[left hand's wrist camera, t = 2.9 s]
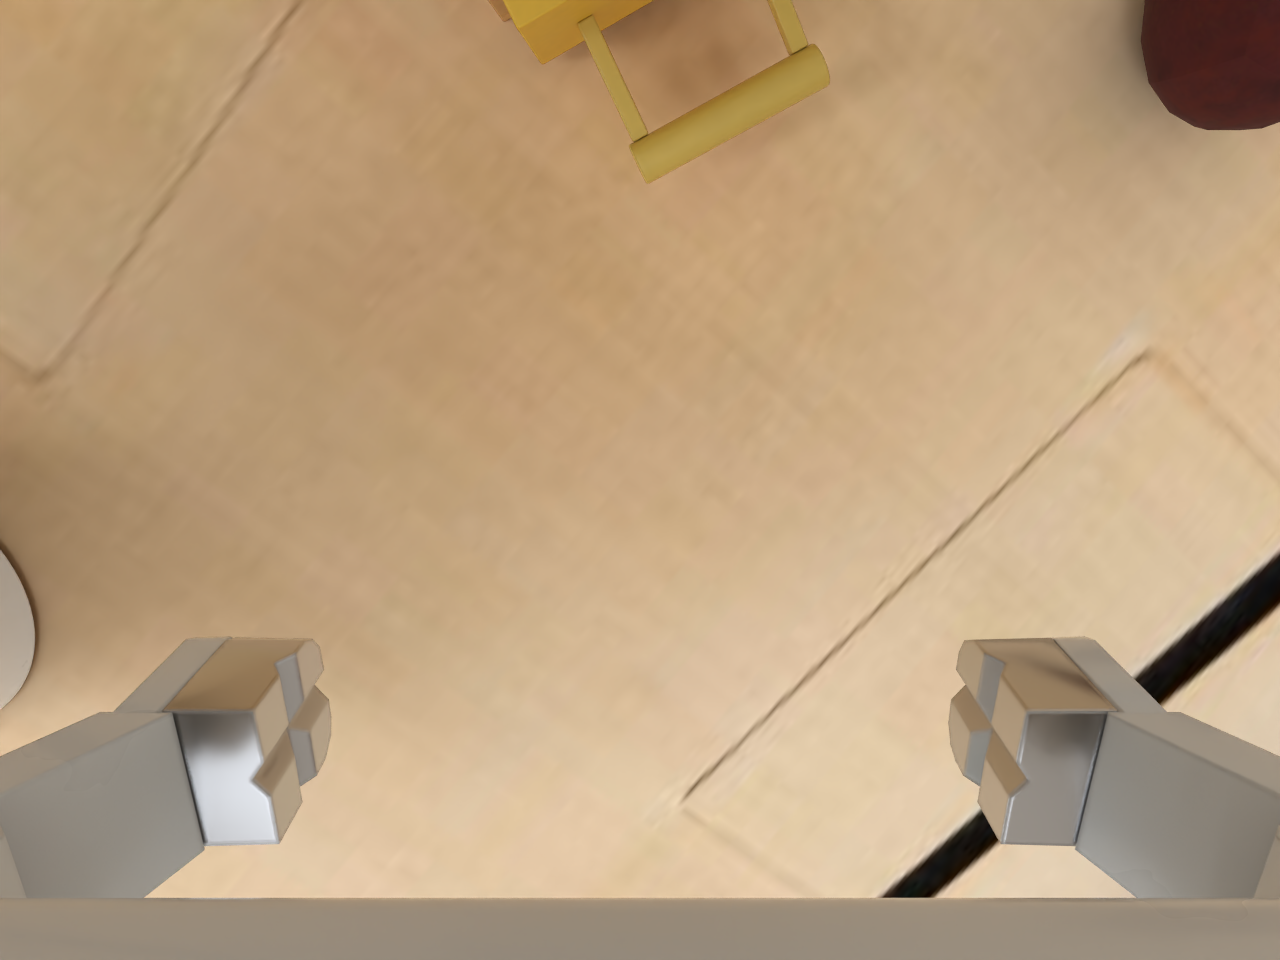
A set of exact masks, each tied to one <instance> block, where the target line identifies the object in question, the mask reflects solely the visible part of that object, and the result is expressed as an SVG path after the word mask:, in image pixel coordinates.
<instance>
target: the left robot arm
mask: <svg viewBox="0 0 1280 960" xmlns="http://www.w3.org/2000/svg"><path fill="white" fill-rule="evenodd" d="M34 649H35V628H34V620H33V615H32V611H31V607H30V604H29V600H28V598H27V595H26V592H25V590H24V588H23V585H22V583H21V581H20V579H19V577H18V576H17V574H16V572H15V570H14V569H13V567H12V565H11V564H10V562H9V561H8V559H7V558H6V556H5V555H4V554H3V552H2V551H1V550H0V709H2V708H3V707H4V706H5V705H7V704H8V703H9V702H10V701H11V700H12V699H13V697H14V696H15V695H16V694H17V693H18V691H19V690H20V688H21V687H22V685H23V683H24V682H25V680H26V678H27V676H28V673H29V671H30V668H31V665H32V660H33V656H34ZM323 670H324V667H323V662H322V657H321V652H320V647H319V646H318V644H317V643H316V642H315V641H314V640H313V639H291V638H240V637H236V638H232V637H196V638H191V639H186V640H185V641H184V642H183V643H182V644H181V645H180V646H179V647H178V648H177V649H176V650H175V651H174V652H173V653H172V654H171V655H170V656H169V657H168V658H167V659H166V660H165V661H164V662H163V663H162V664H161V665H160V666H159V667H158V668H157V669H156V670H155V671H154V672H153V673H152V674H151V675H150V676H149V677H148V678H147V679H146V680H145V681H144V682H143V683H142V684H141V685H140V686H139V687H138V688H137V689H136V690H135V691H134V692H133V693H132V694H131V695H130V696H129V697H128V698H127V699H126V700H125V701H124V702H123V703H122V704H121V705H120V706H119V707H118V708H117V709H116V710H115V711H114V712H99V713H97V714H95V715H92V716H90V717H88V718H86V719H83V720H81V721H79V722H77V723H74V724H72V725H70V726H68V727H65V728H63V729H61V730H59V731H56V732H54V733H52V734H50V735H47V736H45V737H43V738H41V739H38V740H36V741H34V742H32V743H29V744H27V745H25V746H23V747H20V748H18V749H16V750H14V751H11V752H9V753H7V754H5V755H2V756H0V960H1280V756H1277V755H1275V754H1273V753H1271V752H1268V751H1266V750H1264V749H1262V748H1259V747H1257V746H1255V745H1253V744H1250V743H1248V742H1246V741H1244V740H1241V739H1239V738H1237V737H1235V736H1232V735H1230V734H1228V733H1226V732H1223V731H1221V730H1219V729H1217V728H1215V727H1212V726H1210V725H1208V724H1206V723H1203V722H1201V721H1199V720H1197V719H1194V718H1192V717H1190V716H1188V715H1185V714H1183V713H1181V712H1166V711H1165V710H1164V709H1163V708H1162V707H1161V706H1160V705H1159V704H1158V703H1157V702H1156V701H1155V700H1154V699H1153V698H1152V697H1151V696H1150V695H1149V694H1148V693H1147V692H1146V691H1145V690H1144V689H1143V688H1142V687H1141V686H1140V685H1139V684H1138V683H1137V682H1136V681H1135V680H1134V679H1133V678H1132V677H1131V676H1130V675H1129V674H1128V673H1127V672H1126V671H1125V670H1124V669H1123V668H1122V667H1121V666H1120V665H1119V664H1118V663H1117V662H1116V661H1115V660H1114V659H1113V658H1112V657H1111V656H1110V655H1109V654H1108V653H1107V652H1106V651H1105V650H1104V649H1103V648H1102V647H1101V646H1100V645H1099V644H1098V643H1097V642H1096V641H1095V640H1093V639H1090V638H1087V637H1085V636H1084V637H1059V638H1026V639H986V640H964V642H963V644H962V647H961V649H960V651H959V655H958V661H957V667H956V670H957V672H958V673H959V675H960V676H961V678H962V680H963V681H964V683H965V684H966V685H965V686H964V687H963V688H962V689H961V690H960V691H959V692H958V693H957V694H956V695H955V696H954V697H953V698H952V699H951V706H950V714H949V722H948V723H949V734H950V744H951V748H952V751H953V754H954V757H955V761H956V763H957V764H958V766H959V768H960V770H961V772H962V774H963V776H965V777H966V778H968V779H969V780H971V781H972V782H974V783H975V784H977V785H978V786H980V791H979V796H978V804H979V805H980V807H981V809H982V811H983V813H984V814H985V816H986V818H987V820H988V822H989V823H990V825H991V827H992V829H993V831H994V832H995V834H996V836H997V838H998V840H999V841H1000V843H1001V844H1020V845H1056V846H1076V848H1075V850H1077V851H1078V852H1079V853H1080V854H1082V855H1083V856H1084V857H1085V858H1087V859H1088V860H1089V861H1091V862H1092V863H1093V864H1094V865H1096V866H1097V867H1098V868H1099V869H1101V870H1102V871H1103V872H1105V873H1106V874H1107V875H1108V876H1110V877H1111V878H1112V879H1113V880H1115V881H1116V882H1117V883H1119V884H1120V885H1121V886H1122V887H1124V888H1125V889H1126V890H1127V891H1129V892H1130V893H1131V894H1133V895H1134V896H1135V897H1136V898H144V897H145V896H146V895H148V894H149V893H150V892H152V891H153V890H154V889H155V888H157V887H158V886H159V885H160V884H162V883H163V882H164V881H166V880H167V879H168V878H169V877H171V876H172V875H173V874H174V873H176V872H177V871H178V870H180V869H181V868H182V867H183V866H185V865H186V864H187V863H188V862H190V861H191V860H192V859H194V858H195V857H196V856H197V855H199V854H200V853H201V852H203V851H204V849H205V848H204V846H224V845H259V844H279V843H280V842H281V840H282V838H283V836H284V834H285V833H286V831H287V829H288V827H289V825H290V824H291V822H292V820H293V818H294V816H295V814H296V813H297V811H298V809H299V807H300V805H301V804H302V796H301V790H300V786H302V785H303V784H305V783H306V782H308V781H309V780H311V779H312V778H314V777H315V776H317V774H318V772H319V770H320V768H321V766H322V764H323V762H324V760H325V758H326V754H327V750H328V746H329V742H330V737H331V712H330V705H329V699H328V698H327V697H326V696H325V695H324V694H323V693H322V692H321V691H320V690H319V689H318V688H317V687H316V686H315V685H314V684H315V683H316V681H317V680H318V678H319V677H320V675H321V673H322V672H323Z"/></svg>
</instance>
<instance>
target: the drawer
mask: <svg viewBox="0 0 1280 960" xmlns="http://www.w3.org/2000/svg"><path fill="white" fill-rule="evenodd" d="M652 1H653V0H503V2H504V4H505V6H506V8H507V10H508V12H509V14H510V16H511V18H512V20H513V22H514V24H515V26H516V28H517V29H518V31H519V32H520V34H521V35H522V36H523V38H524V39H525V41H526V42H527V44H528V45H529V47H530V48H531V50H532V51H533V52H534V54H535V55H536V57H537V58H538V60H539V61H540V63H541V64H545V63H547V62H548V61H550V60H552V59H554V58H555V57H557V56H559V55H560V54H562V53H564V52H566V51H567V50H569V49H571V48H572V47H574V46H576V45H578V44H579V43H581V42H583V41H585V42H586V45H587V47H588V49H589V51H590V53H591V55H592V57H593V59H594V61H595V63H596V66H597V68H598V70H599V72H600V74H601V76H602V78H603V80H604V82H605V84H606V87H607V89H608V91H609V93H610V95H611V97H612V99H613V101H614V103H615V106H616V108H617V110H618V112H619V114H620V116H621V118H622V120H623V122H624V124H625V127H626V129H627V131H628V133H629V135H630V137H631V139H632V141H633V142H634V143H632V144H630V145H629V148H630V151H631V153H632V155H633V157H634V159H635V161H636V164H637V166H638V168H639V170H640V172H641V174H642V176H643V178H644V180H645V182H646V183H647V184H649V183H651V182H653V181H654V180H656V179H658V178H660V177H662V176H664V175H665V174H667V173H669V172H671V171H673V170H675V169H676V168H678V167H680V166H682V165H684V164H686V163H687V162H689V161H691V160H693V159H695V158H697V157H698V156H700V155H702V154H704V153H706V152H708V151H709V150H711V149H713V148H715V147H717V146H719V145H720V144H722V143H724V142H726V141H728V140H730V139H731V138H733V137H735V136H737V135H739V134H741V133H742V132H744V131H746V130H748V129H750V128H752V127H753V126H755V125H757V124H759V123H761V122H763V121H765V120H766V119H768V118H770V117H772V116H774V115H776V114H777V113H779V112H781V111H783V110H785V109H787V108H788V107H790V106H792V105H794V104H796V103H798V102H799V101H801V100H803V99H805V98H807V97H809V96H810V95H812V94H814V93H816V92H818V91H820V90H821V89H823V88H825V87H827V86H828V85H829V83H830V77H829V71H828V68H827V65H826V62H825V59H824V57H823V55H822V53H821V51H820V50H819V48H818V47H817V46H816V45H815V44H810V45H809V46H807V45H808V42H807V39H806V37H805V34H804V32H803V29H802V26H801V24H800V21H799V19H798V16H797V14H796V11H795V8H794V6H793V3H792V1H791V0H767V1H768V3H769V6H770V8H771V11H772V13H773V16H774V18H775V21H776V23H777V26H778V28H779V31H780V33H781V36H782V38H783V41H784V43H785V46H786V48H787V51H788V53H789V55H790V56H789V57H787V58H785V59H783V60H781V61H780V62H778V63H776V64H774V65H772V66H771V67H769V68H767V69H765V70H763V71H762V72H760V73H758V74H756V75H754V76H753V77H751V78H749V79H747V80H745V81H744V82H742V83H740V84H738V85H736V86H735V87H733V88H731V89H729V90H727V91H726V92H724V93H722V94H720V95H718V96H717V97H715V98H713V99H711V100H709V101H708V102H706V103H704V104H702V105H700V106H699V107H697V108H695V109H693V110H691V111H690V112H688V113H686V114H684V115H682V116H681V117H679V118H677V119H675V120H673V121H672V122H670V123H668V124H666V125H664V126H662V127H661V128H659V129H657V130H655V131H653V132H652V133H650V134H648V131H647V129H646V126H645V124H644V122H643V120H642V118H641V116H640V114H639V112H638V109H637V107H636V105H635V103H634V101H633V99H632V97H631V94H630V92H629V90H628V88H627V86H626V84H625V82H624V79H623V77H622V75H621V73H620V71H619V69H618V67H617V65H616V62H615V60H614V58H613V56H612V54H611V52H610V50H609V47H608V45H607V43H606V41H605V39H604V37H603V35H602V32H601V31H602V30H603V29H605V28H607V27H609V26H610V25H612V24H614V23H616V22H617V21H619V20H621V19H622V18H624V17H626V16H628V15H629V14H631V13H633V12H635V11H636V10H638V9H640V8H641V7H643V6H645V5H647V4H648V3H650V2H652ZM806 46H807V47H806ZM647 134H648V135H647Z"/></svg>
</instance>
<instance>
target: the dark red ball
mask: <svg viewBox="0 0 1280 960" xmlns="http://www.w3.org/2000/svg"><path fill="white" fill-rule="evenodd" d="M1141 44H1142V49H1143V55H1144V60H1145V65H1146V70H1147V75H1148V81H1149V84H1150V85H1151V87H1152V88H1153V89H1154V91H1155V92H1156V94H1157V95H1158V97H1159V98H1160V100H1161V101H1162V103H1163V104H1164V105H1165V107H1166V108H1167V110H1168V111H1169V112H1170V113H1172V114H1174V115H1175V116H1177V117H1179V118H1180V119H1182V120H1184V121H1186V122H1187V123H1189V124H1191V125H1193V126H1195V127H1199V128H1202V129H1206V130H1246V129H1259V128H1264V127H1267V126H1270V125H1272V124H1275V123H1278V122H1280V0H1145V7H1144V16H1143V26H1142V35H1141Z"/></svg>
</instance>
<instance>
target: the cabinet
mask: <svg viewBox="0 0 1280 960" xmlns="http://www.w3.org/2000/svg"><path fill="white" fill-rule="evenodd" d="M488 1H489V3H490V4H491V5H492V7H493V8H494V9H495V11H496V12H497V13H498V15H499V16H500V18H501V19H502V20H503V21H507V20H508V19H510V18H511V16H510V14H509V12H508V10H507V8H506V6H505V4H504V2H503V0H488Z"/></svg>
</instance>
